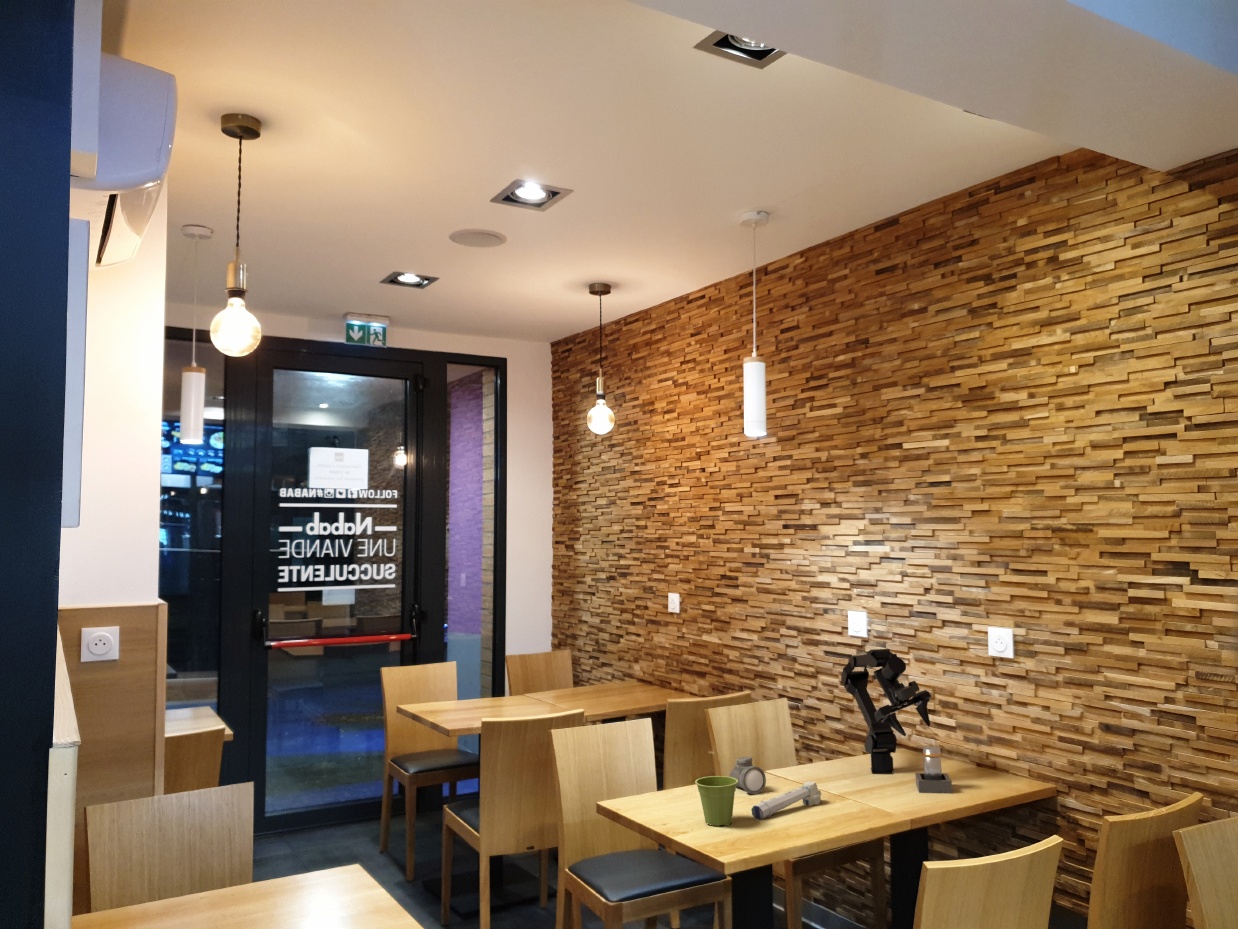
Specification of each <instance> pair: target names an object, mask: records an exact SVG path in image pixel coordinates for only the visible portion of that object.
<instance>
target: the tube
mask: <svg viewBox="0 0 1238 929" xmlns="http://www.w3.org/2000/svg"><path fill="white" fill-rule="evenodd" d="M922 756H923V757H922V758H923V773H924V779H925V780H942V773H943V772H942V758H941V757H942V752H941V748H940V747H938V746H930V745H928V746H926V745H925V746H923V747H922Z"/></svg>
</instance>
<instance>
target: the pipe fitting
mask: <svg viewBox="0 0 1238 929" xmlns="http://www.w3.org/2000/svg"><path fill="white" fill-rule="evenodd" d="M735 761H736V762H735V765H734V768H732V769H731V770H730V772H729V775H728V777H733V778H736V779H737V780H738V783H737V784H736V788H741V789H743V791H745V792H746V793H747V794H750V795H758V794H760V793H761V792H762V791H764V789H765V788H766V785H767V777H766V773H765V772H764V770H763V769H762V768H761V767H759V766H755V765H754V764H753V757H752V756H742V757H738V758H737V759H736V758H735Z"/></svg>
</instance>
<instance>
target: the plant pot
mask: <svg viewBox="0 0 1238 929" xmlns="http://www.w3.org/2000/svg"><path fill="white" fill-rule="evenodd" d="M694 783H695V785H696V786H697V790H698V792H699V797H700V801H701V805H702V810H703V816H704V821H705V823H706V824H707V823H708V824H711V825H710V826H713V825H715V826H714V827H720V826H728V825H731V824H732V822H733V814H734V813H733V812H734V802H735V801H734V800H735V792H736V789H737V787H736V784H737V783H738V780H737V779H736V778H733V777H729V776H725V775H724V776H722V775H711V776H710V775H709V776H703V777H699V778H697V779H695V782H694ZM708 824H707V825H708Z"/></svg>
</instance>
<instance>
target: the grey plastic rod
mask: <svg viewBox="0 0 1238 929" xmlns="http://www.w3.org/2000/svg"><path fill="white" fill-rule="evenodd" d="M821 796H822V791H821V790H820V789H819V788H818V785H817V782H816V781H814V780H809V781H804V782H803V784H802V786H799V787H798V788H794V789H792V790H789V791H787V792H784V793H781V794H778V795H775V796H774V797H771V798H769V799H766V800H761V801H760V802H759V803H756V804H755V805H753V806H752V808H751V815H752V816H753V818H754V819H755V820H759V821H760V820H763V819H765V818H770V817H771V816H772V815H774V814H775V813H777V812H779V811H781V810H783V809H786V808H787V807H789V806H791V805H793V804H795V803H798V802H799V801H801V800H802V804H803V805H804V806H810V807H811V806H813V805H815V806H818V805H820V803H821V802H822V799H821Z"/></svg>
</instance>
